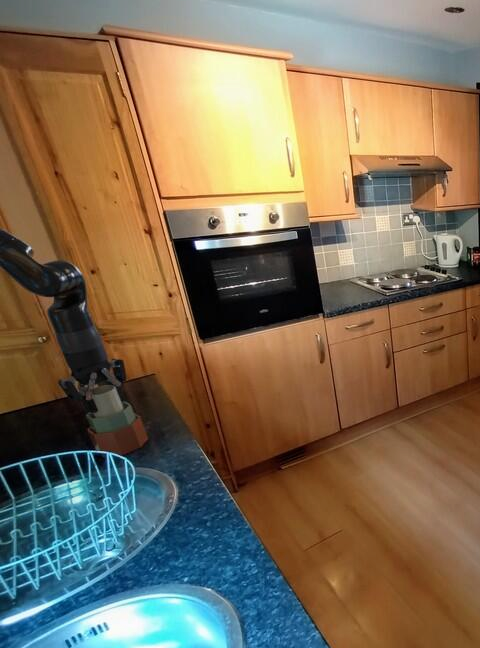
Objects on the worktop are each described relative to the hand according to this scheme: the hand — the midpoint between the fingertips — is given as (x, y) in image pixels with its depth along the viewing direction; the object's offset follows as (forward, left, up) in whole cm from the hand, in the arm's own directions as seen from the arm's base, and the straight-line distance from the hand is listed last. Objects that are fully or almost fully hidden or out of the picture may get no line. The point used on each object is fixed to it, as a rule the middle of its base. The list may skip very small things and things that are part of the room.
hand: (106, 405), depth 115 cm
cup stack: (0, 0, -12) cm, 12 cm away
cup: (0, 0, -5) cm, 5 cm away
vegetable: (+8, +28, -13) cm, 32 cm away
